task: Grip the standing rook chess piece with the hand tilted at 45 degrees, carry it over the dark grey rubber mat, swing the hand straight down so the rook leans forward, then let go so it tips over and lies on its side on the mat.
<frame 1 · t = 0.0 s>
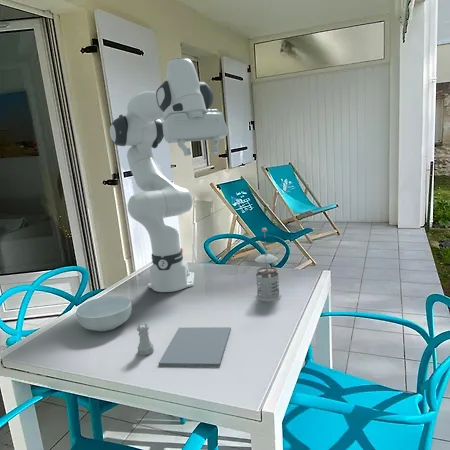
hand: (202, 153, 121), 52 cm above the table, tool tilted 20°, fingers open, 8 cm apart
rook chess piece: (146, 352, 113), on the table
mat: (197, 346, 113), on the table
french press: (269, 295, 146), on the table
cereal bowl: (107, 326, 131), on the table
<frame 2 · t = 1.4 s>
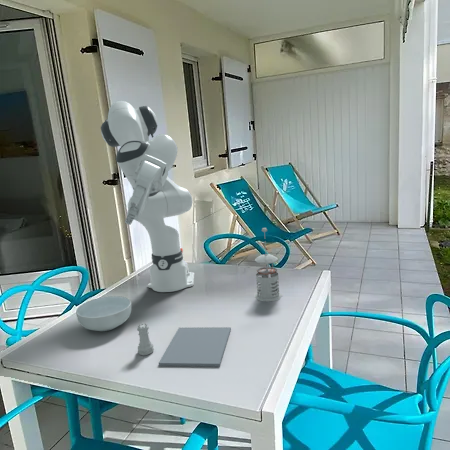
hand: (130, 213, 108), 38 cm above the table, tool tilted 55°, fingers open, 8 cm apart
nothing on the table moved.
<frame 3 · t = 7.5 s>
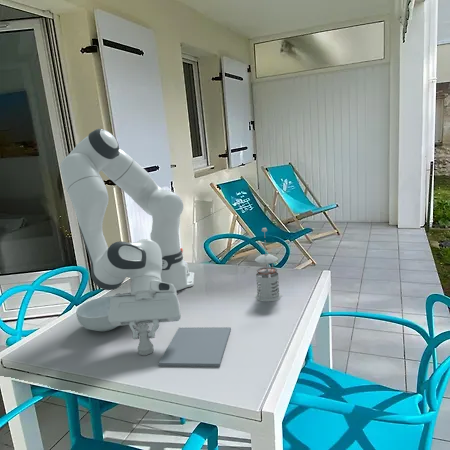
hand: (143, 338, 111), 4 cm above the table, tool tilted 45°, fingers closed on rook chess piece, 3 cm apart
rook chess piece: (146, 352, 113), on the table, touching gripper
everything else where it was.
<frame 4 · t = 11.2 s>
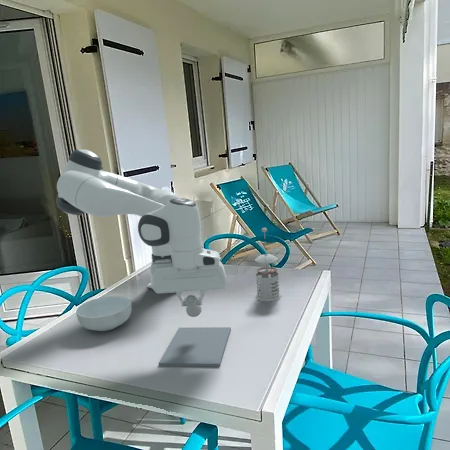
hand: (192, 305, 114), 11 cm above the table, tool pointing down, fingers closed on rook chess piece, 3 cm apart
rook chess piece: (194, 310, 118), point 8 cm above the table, touching gripper
everything else where it was.
when the fingers open (6 cm above the table, at t = 13.2 s): rook chess piece moves 9 cm, resting on mat.
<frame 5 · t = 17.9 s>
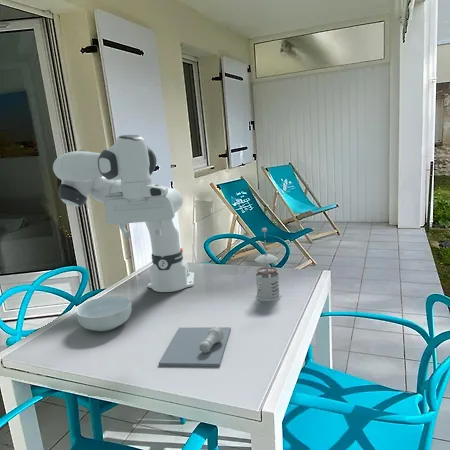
hand: (143, 236, 123), 29 cm above the table, tool pointing down, fingers open, 8 cm apart
rook chess piece: (217, 332, 113), point 3 cm above the table, touching mat
everything else where it was.
at the end: rook chess piece tilted 95°; rook chess piece inside the target area on the mat (5.9 cm from its centre), point 3.1 cm above the mat's base; the gripper is holding nothing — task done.
